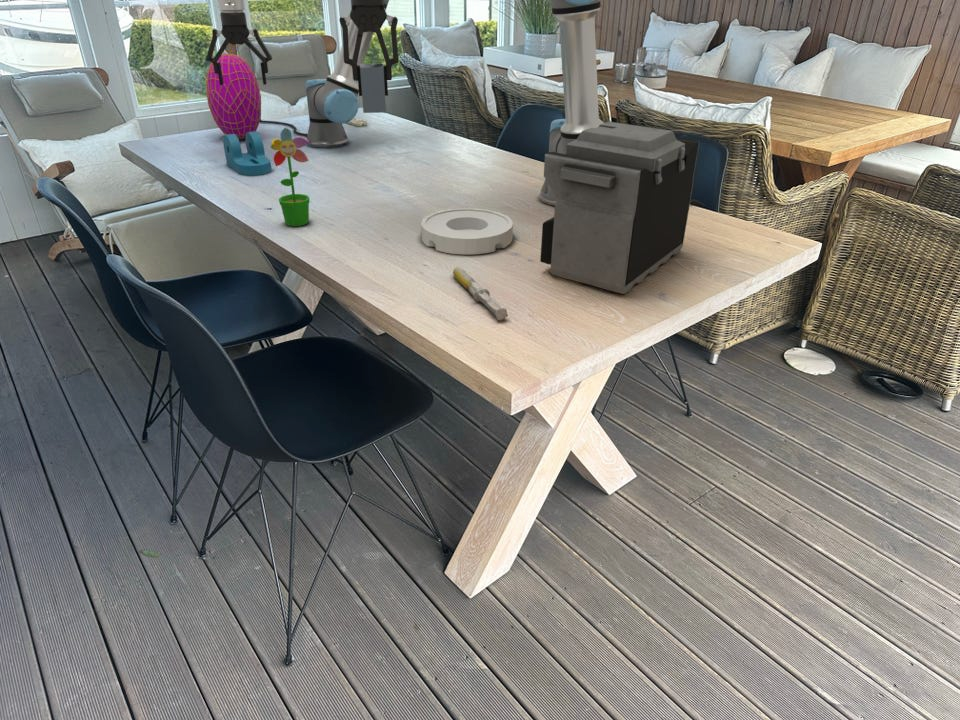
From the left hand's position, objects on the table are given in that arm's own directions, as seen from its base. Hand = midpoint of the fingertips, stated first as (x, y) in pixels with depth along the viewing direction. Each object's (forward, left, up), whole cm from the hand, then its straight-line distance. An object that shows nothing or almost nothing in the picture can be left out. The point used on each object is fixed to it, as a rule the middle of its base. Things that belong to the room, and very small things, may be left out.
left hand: (243, 84), depth 224 cm
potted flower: (+66, -19, -25) cm, 73 cm away
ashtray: (+104, +8, -25) cm, 107 cm away
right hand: (+80, -2, +8) cm, 81 cm away
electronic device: (+138, +24, -25) cm, 142 cm away
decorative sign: (-38, +60, -25) cm, 75 cm away
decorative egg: (-35, +11, -25) cm, 45 cm away
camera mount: (+8, -5, -25) cm, 27 cm away
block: (+80, -2, +4) cm, 80 cm away
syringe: (+132, -12, -25) cm, 135 cm away
